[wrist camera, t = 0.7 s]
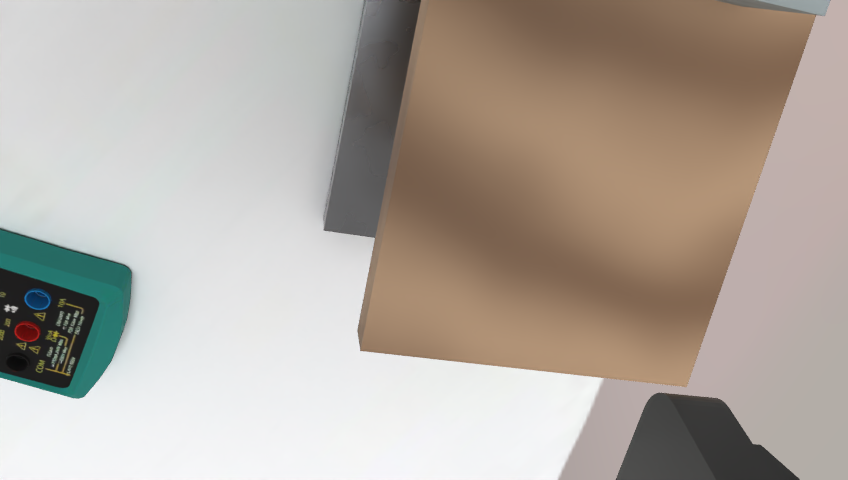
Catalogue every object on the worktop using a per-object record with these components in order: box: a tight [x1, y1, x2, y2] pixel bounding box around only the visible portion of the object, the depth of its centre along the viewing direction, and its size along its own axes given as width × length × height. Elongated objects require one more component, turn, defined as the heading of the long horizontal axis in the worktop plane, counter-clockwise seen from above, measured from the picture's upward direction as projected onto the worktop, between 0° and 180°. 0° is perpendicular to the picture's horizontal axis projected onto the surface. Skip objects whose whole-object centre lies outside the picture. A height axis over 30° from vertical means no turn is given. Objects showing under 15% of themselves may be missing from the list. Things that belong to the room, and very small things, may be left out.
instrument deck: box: [357, 0, 830, 387], centre depth 21 cm, size 24×12×8 cm, turn 167°
